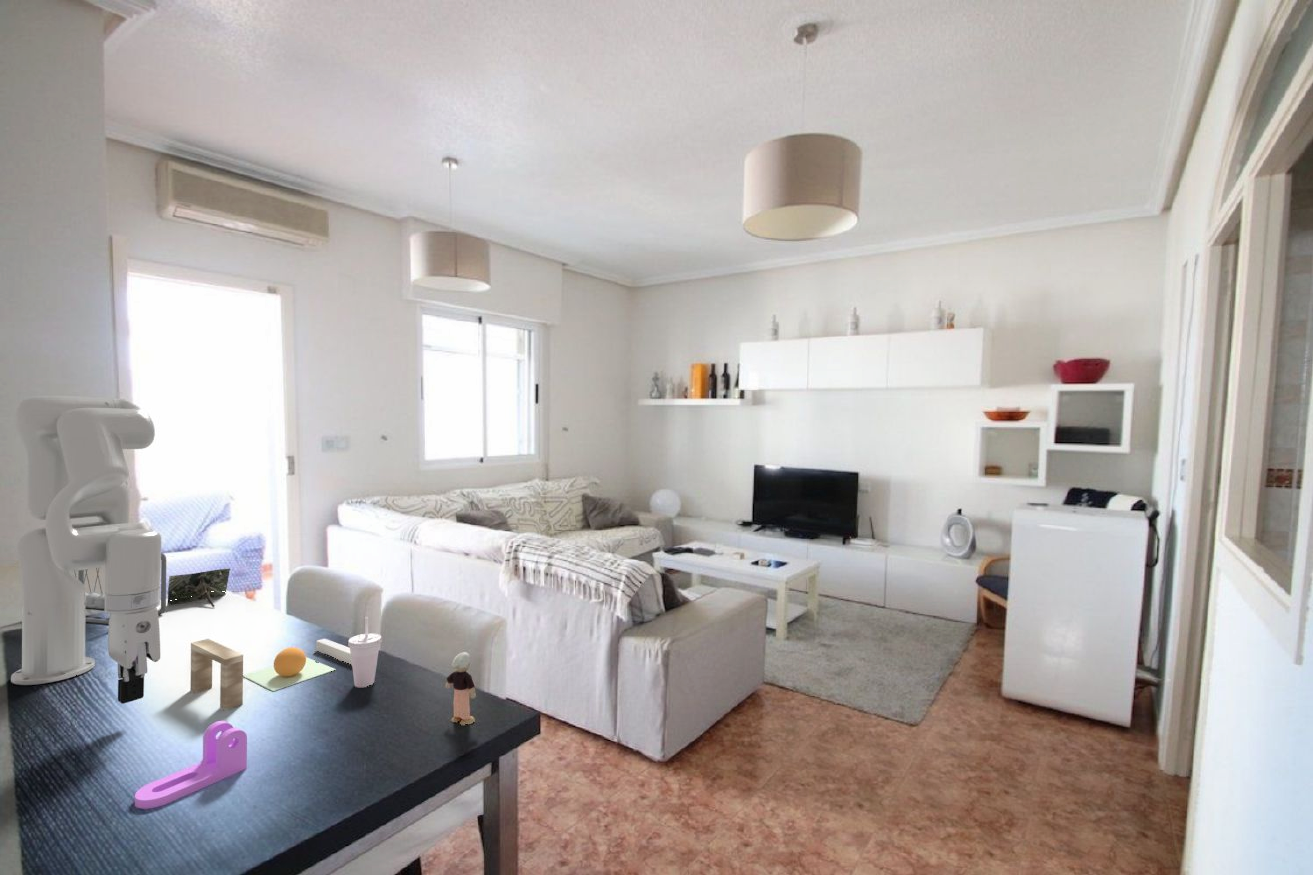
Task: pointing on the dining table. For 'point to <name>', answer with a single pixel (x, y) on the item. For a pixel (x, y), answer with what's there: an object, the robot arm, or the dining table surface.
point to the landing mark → (276, 681)
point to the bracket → (200, 767)
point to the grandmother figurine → (461, 689)
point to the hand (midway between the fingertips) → (130, 699)
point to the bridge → (229, 673)
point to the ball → (289, 662)
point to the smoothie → (364, 656)
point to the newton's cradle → (99, 600)
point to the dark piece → (197, 586)
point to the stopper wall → (334, 650)
